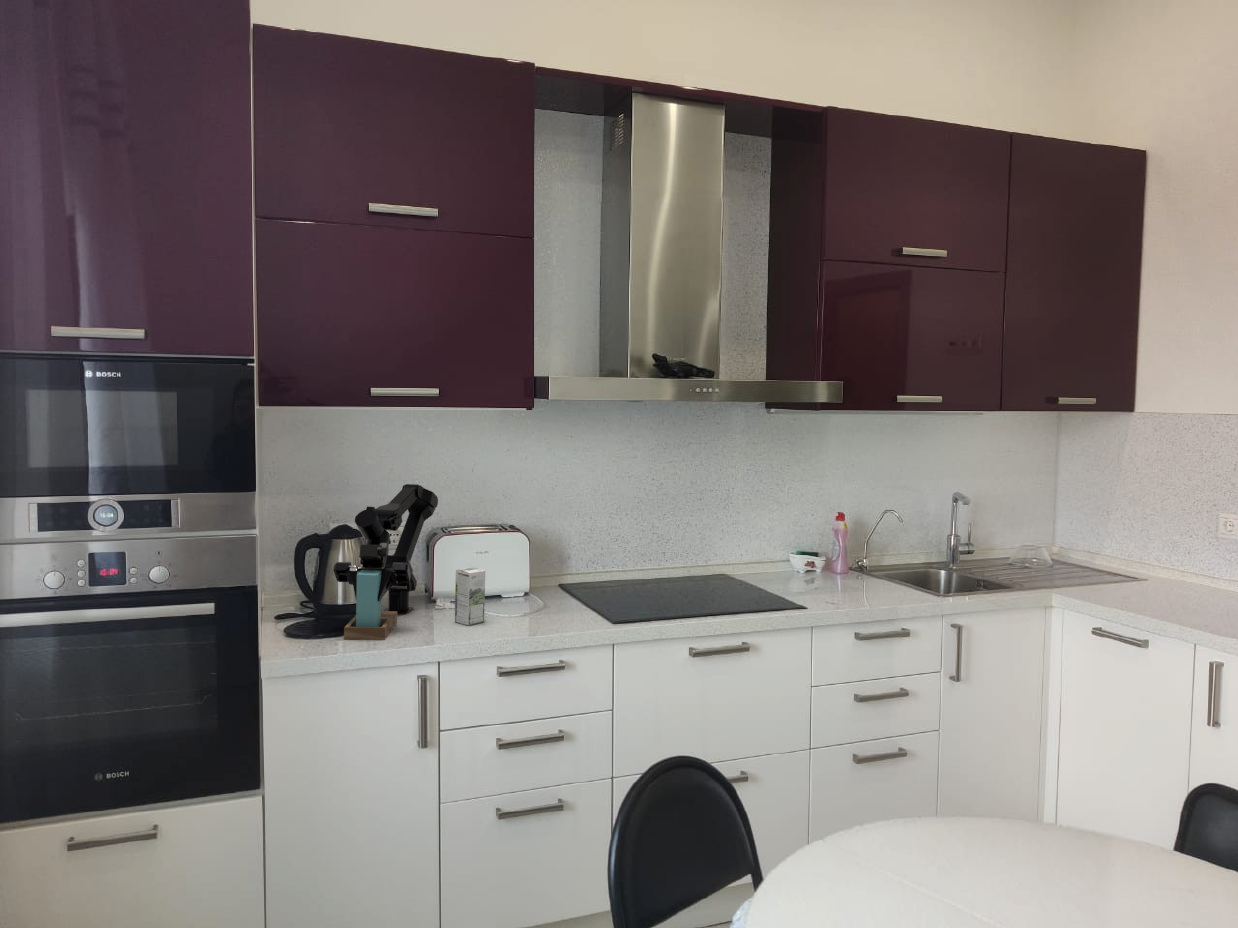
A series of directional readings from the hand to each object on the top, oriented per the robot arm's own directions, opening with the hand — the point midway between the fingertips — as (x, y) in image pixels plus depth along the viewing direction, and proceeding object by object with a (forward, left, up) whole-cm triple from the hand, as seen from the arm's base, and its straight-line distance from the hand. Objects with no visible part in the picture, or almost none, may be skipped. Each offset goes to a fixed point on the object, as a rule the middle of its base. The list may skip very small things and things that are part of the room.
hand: (367, 600), depth 234 cm
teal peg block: (-2, 0, -7) cm, 7 cm away
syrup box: (-19, +21, -9) cm, 29 cm away
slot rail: (-5, -1, -9) cm, 10 cm away
